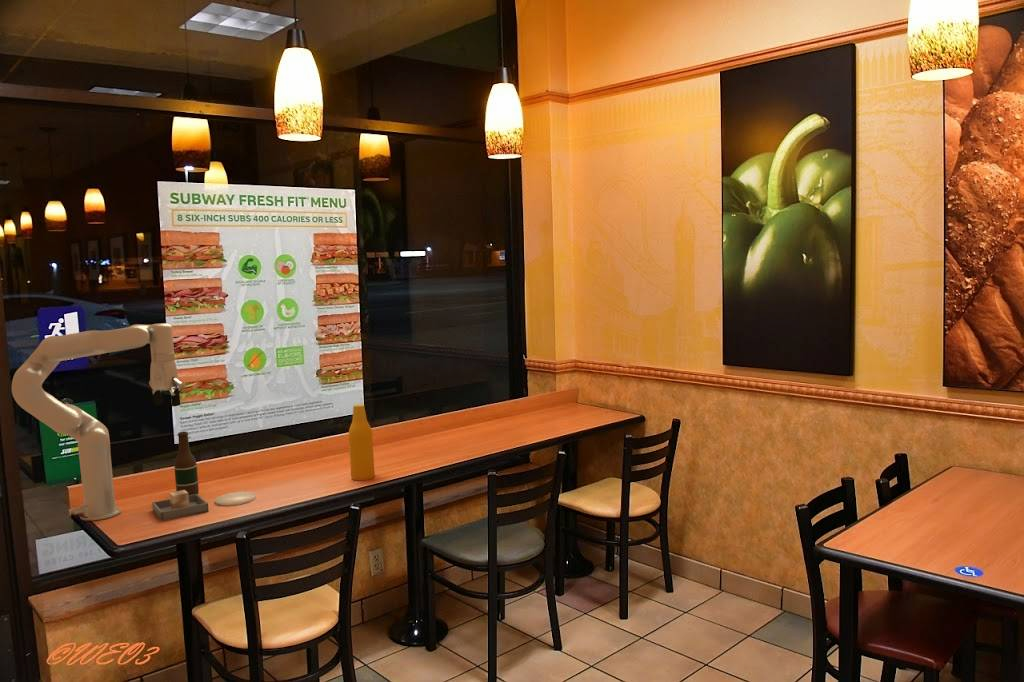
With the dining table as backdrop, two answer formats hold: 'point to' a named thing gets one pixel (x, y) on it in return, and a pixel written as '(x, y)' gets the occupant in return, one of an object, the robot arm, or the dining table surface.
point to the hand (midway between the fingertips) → (167, 405)
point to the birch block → (179, 499)
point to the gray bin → (166, 513)
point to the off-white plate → (235, 498)
